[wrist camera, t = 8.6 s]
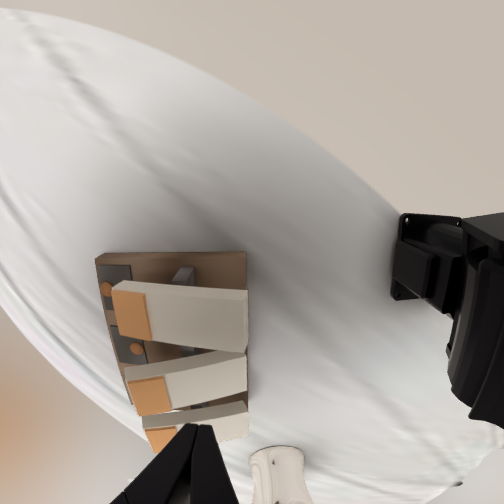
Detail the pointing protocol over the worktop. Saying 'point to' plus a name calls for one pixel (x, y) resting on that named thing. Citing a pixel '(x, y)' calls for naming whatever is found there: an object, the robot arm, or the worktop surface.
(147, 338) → the near rocker
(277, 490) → the beer glass
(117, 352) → the switch unit
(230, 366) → the middle rocker
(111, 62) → the worktop surface
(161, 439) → the far rocker
